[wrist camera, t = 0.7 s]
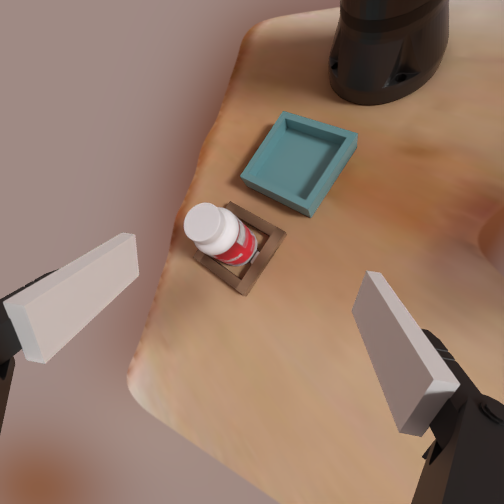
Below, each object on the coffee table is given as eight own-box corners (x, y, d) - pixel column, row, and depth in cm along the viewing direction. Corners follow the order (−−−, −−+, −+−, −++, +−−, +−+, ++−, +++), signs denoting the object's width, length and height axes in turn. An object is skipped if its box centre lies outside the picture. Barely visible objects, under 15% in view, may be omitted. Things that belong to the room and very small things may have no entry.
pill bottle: (218, 265, 38) (173, 246, 28) (224, 228, 39) (183, 197, 29) (256, 268, 35) (221, 248, 25) (261, 228, 37) (230, 194, 27)
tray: (287, 125, 40) (283, 110, 37) (356, 147, 35) (357, 133, 32) (247, 186, 39) (239, 176, 37) (310, 218, 34) (308, 209, 32)
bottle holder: (233, 204, 40) (230, 201, 38) (286, 234, 35) (285, 231, 34) (197, 258, 39) (192, 257, 38) (246, 296, 35) (243, 295, 34)
